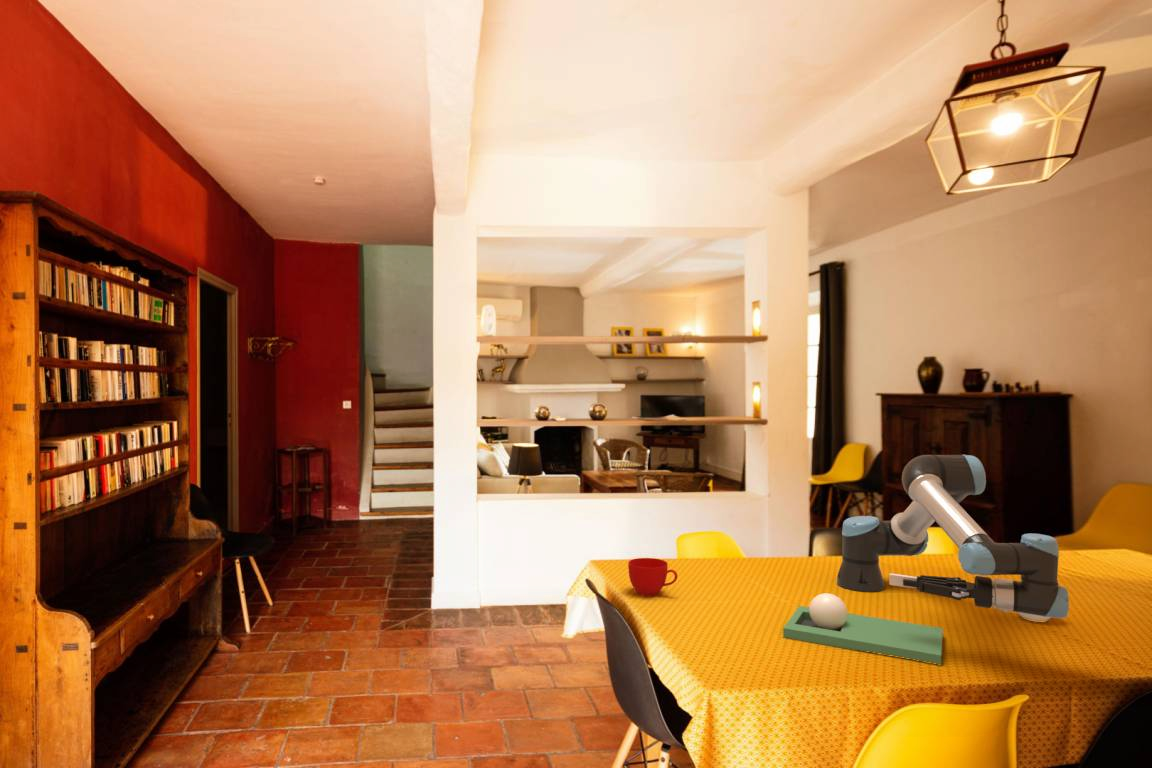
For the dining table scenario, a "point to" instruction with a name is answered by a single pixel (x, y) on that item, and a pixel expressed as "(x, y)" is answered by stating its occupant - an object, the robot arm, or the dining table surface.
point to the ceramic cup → (649, 575)
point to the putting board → (870, 636)
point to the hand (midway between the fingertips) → (889, 579)
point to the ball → (828, 611)
